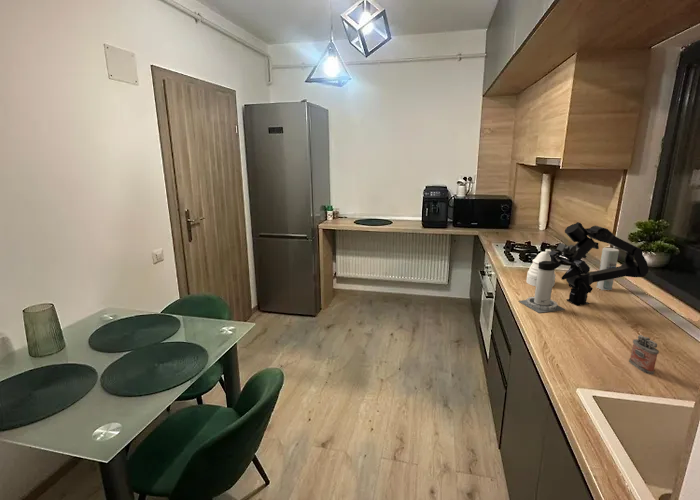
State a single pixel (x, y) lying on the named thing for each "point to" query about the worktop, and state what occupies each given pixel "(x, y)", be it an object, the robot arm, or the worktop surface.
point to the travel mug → (544, 283)
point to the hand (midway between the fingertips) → (554, 275)
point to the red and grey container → (644, 354)
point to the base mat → (541, 310)
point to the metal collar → (547, 308)
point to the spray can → (608, 266)
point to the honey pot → (534, 267)
